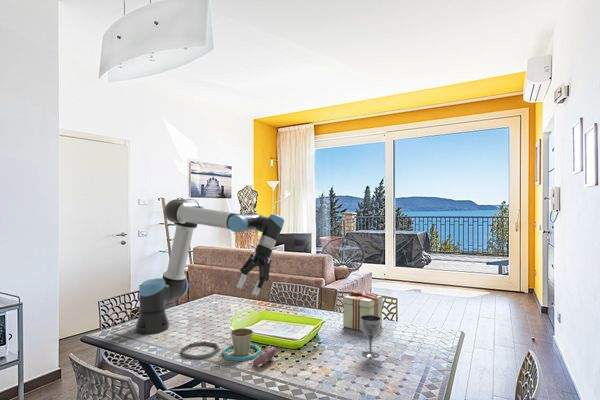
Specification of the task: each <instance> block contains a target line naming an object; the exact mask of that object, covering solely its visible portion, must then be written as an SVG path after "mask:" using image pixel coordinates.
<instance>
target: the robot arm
mask: <svg viewBox="0 0 600 400" xmlns="http://www.w3.org/2000/svg"><path fill="white" fill-rule="evenodd" d="M163 213H164V216H165V218H166V219H167V220H168V221H169V222H171V223H173V225H174V226H175V232H174V236H173V240H172V245H171V250H170V255H169V260H168V266H167V269H166V271H164V272H163V273H162V274H163V275H162V277H159V278H156V277H155V278H153V279H147V280H145V281H143V282H141V284H139V291H138V293H139V314H138V319H137V321H136V324H135V332H136V333H138V334H142V335H143V334H144V335H150V334H158V333H162V332H164V331H166V330H168V329H169V327H170V322H169V319H168V315H167V313H166V304H168V303H170V302H173V301H176V300H179V299H181V298H183V297H184V296H185V295H186V294H187V292H188V291H189V282H188V279H187V275H186V274H185V271H186V266H187V260H188V256H189V251H190V247H191V242H192V237H193V234H194V230H195V229H196V228H198V225H203V226H206V227H207V226H208V227H213V228H219V229H224V230H225V229H226V230H230V231H231V232H234V233H243V232H247V231H257V232H260V233H261V235H260V237H259V239H258V243H257V245H256V246H255V249H254V252H255V254H253V253H251V254H250V255H249V257H248V259H247V261H245V263H244V264H243V265H242V267H241V268H239V271H240V272H241V275H240V277H239V280H238V282H237V283H236V288H237V289H241V290H242V289H243V288H244V284H245V282H246V280H247V278H248V276H249V275H248V274H249V273H250V272H251V271H252V270H253V269H254V268H255V267H258V272H259V273H258V276H259V277H258V279H257V281H256V283H255V286H254V288H253V290H252V293H251V294H252V295H255V296H257V297H258V296H259V294H260V292H261V289H262V288H263V286H264V283H265V282H266V281H267V282H268V281H269V279H270V269H271V268H270V267H271V263H272V259H270V258H271V256H272V255H273V254H272V253H273V250H274V248H275V247H276V246H275V245H276V243H277V241H278V238H279V236H280V234H281V232H282V230H283V227H284V223H285V219H284V217H282V216H280V215H278V214H275V213H271V214H270V215H269V216H264V215H261V214H258V213H256V212H254V211H248V210H247V211H246V212H244V213H242V214H241V213H233V212H227V211H221V210H216V209H210V208H209V209H208V208H204V206H203V204H202V203H201V201H199V200H197V199H192V198H187V199H186V198H184V199H182V198H181V199H180V198H179V199H178V198H177V199H172V200H170V201H168V203H166V205H165V207H164V211H163Z"/></svg>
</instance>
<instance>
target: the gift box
mask: <svg viewBox="0 0 600 400" xmlns="http://www.w3.org/2000/svg"><path fill="white" fill-rule="evenodd" d="M348 293H349V294H348V295H346V296H343V297H342V304H343V308H342V309H343V312H342V313H343V319H342V320H343V321H342V322H343V324H342V325H343V328H347V329H352V330H356V331H360V332H363V331H362V328H361V316H363V315H375V316H378V317H380V319H381V323H380V327H382V326H383V305H382V304H383V302H384V298H383V295H380V294H379V295H378V294H376V293H374V292H367V293H365V292H361V291H359V290H356V289H352V290H350V291H348Z"/></svg>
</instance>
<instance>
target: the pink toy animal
mask: <svg viewBox="0 0 600 400" xmlns="http://www.w3.org/2000/svg"><path fill="white" fill-rule="evenodd" d="M277 352H278V349H277V348H276V347H274V346H273V345H272V346H271V347H267V348H265V349H264V350H263V351H261V353H260V354H259V355H258V356H257V357H256V358H255V359H253V361H252V365H253V366H255V367H256V366H257V367H258V366H260V365H261V364H262V365H263V366H265V365H266V364H267V363H268V362H271V361H272V360H273V358H274V357H275V356H276V355H277Z"/></svg>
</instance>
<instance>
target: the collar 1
mask: <svg viewBox="0 0 600 400" xmlns="http://www.w3.org/2000/svg"><path fill="white" fill-rule="evenodd" d="M200 346H209V347H214V348H215V350H213V351H211V352H210V353H205V354H198V355H194V354H189V353H185V351H187V350H189V349H190V348H193V347H200ZM180 350H181V351H180V353H181V355H182V357H183V359H185V358H186V359H190V360H202V359H207V358H213V357H214V356H215V355H216V354H218V353H220V350H221V349H220V346H219V345H218V343H217V342H210V341H205V340H204V341H200V342H193V343H189V344H186V346H184V347H182V348H181V349H180Z"/></svg>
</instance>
